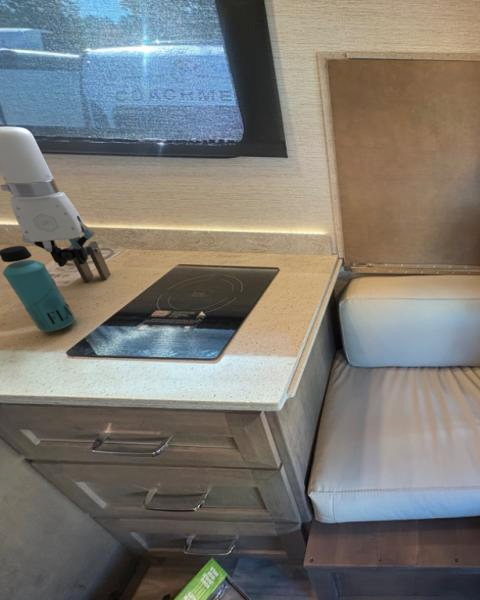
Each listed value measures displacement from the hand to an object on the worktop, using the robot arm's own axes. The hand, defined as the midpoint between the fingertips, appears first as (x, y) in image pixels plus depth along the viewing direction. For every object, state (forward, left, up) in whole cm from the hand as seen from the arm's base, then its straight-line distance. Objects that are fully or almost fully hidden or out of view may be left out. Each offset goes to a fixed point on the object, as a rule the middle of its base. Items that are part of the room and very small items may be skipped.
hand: (73, 262), depth 83 cm
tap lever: (0, +3, 0) cm, 3 cm away
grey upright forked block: (0, +8, -10) cm, 13 cm away
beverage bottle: (-2, -15, -10) cm, 18 cm away
